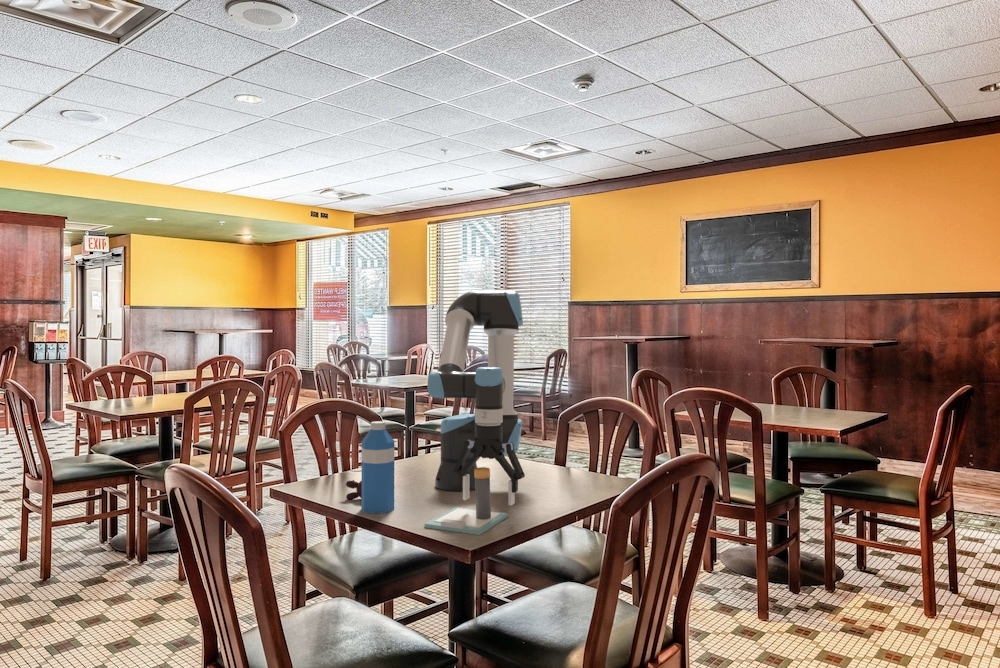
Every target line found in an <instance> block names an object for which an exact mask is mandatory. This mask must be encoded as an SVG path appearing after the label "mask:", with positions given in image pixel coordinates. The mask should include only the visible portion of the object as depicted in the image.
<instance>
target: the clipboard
mask: <svg viewBox="0 0 1000 668" xmlns="http://www.w3.org/2000/svg"><path fill="white" fill-rule="evenodd" d="M508 516H509V513H508V512H499V511H494V510H493V511H492V510H491V518H489V519H484V520H481V519H477V518H476V508H467V507H466V508H465V507H461V506H460V507H458V506H455V507H453V508H452V509H450V510H448V511H445V512H444V513H441V514H440V515H438V516H436V517H434V518H432V519H430V520H428V521H426V522H425V523H424V526H423V527H424V528H427V529H431V530H433V529H434V530H440V531H449V532H454V533H461V532H462V533H463V534H470V535H475V536H481V535H483V534H484V533H485V532H487V531H488V530H490V529H491V528H493V527H494V526H496V525H497V524H499V523H501V522H502V521H504V520H505V519H507V518H508Z"/></svg>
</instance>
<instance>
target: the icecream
mask: <svg viewBox="0 0 1000 668" xmlns="http://www.w3.org/2000/svg"><path fill="white" fill-rule="evenodd" d="M345 486H346V487H347V488H349V489H353V490H354V489H356V491H354V492H349V493H348V494H346V496H345V497H346V498H345V499H347V500H349V501H350V500H352V499H353V500H356V499H357V498H360V499H362V480H360V481H359V482H357V481H355V480H354V479H353V480H347V481H346V483H345Z"/></svg>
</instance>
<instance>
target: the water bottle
mask: <svg viewBox="0 0 1000 668" xmlns="http://www.w3.org/2000/svg"><path fill="white" fill-rule="evenodd" d="M361 481H362V498H361V510H362V512H363V511H364V512H367V513H366V514H373V513H374V515H377V514H385V513H389V512H391V511H394V510H395V440H394V439H393V438H392V436H391V435H390V434H389V432H388V430H386V422H385V421H382V420H379V421H377V420H376V421H371V422H370V429H369V430H368V432H367V433H366V435H365V436H364V438H363V439H362V441H361ZM364 512H363V513H364Z"/></svg>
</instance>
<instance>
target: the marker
mask: <svg viewBox="0 0 1000 668" xmlns="http://www.w3.org/2000/svg"><path fill="white" fill-rule="evenodd" d="M474 477H475V489H474V491H475V493H474V494H475V495H474V496H475V498H474V499H475V509H476V518H477V519H481V520H484V519H489V518H491V511H492V506H491V505H492V504H491V480H490V479H491V478H490V477H491V468H489V467H485V466H482V467H477V468H476V469H474Z"/></svg>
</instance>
